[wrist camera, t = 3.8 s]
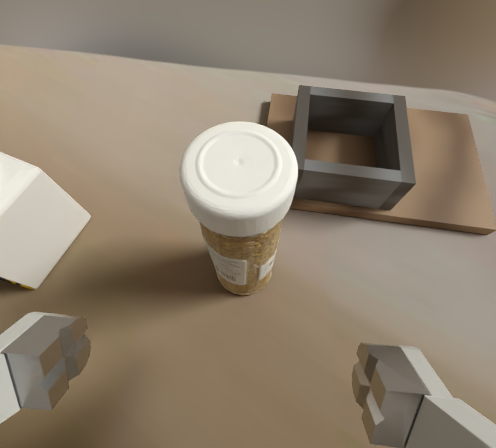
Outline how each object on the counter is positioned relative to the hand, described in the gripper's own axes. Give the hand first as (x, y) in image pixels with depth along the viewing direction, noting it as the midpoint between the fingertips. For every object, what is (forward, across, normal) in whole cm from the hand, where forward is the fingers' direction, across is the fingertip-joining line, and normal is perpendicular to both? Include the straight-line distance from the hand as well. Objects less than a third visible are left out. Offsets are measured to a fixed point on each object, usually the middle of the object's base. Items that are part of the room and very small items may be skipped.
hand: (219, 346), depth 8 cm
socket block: (+22, -11, -4) cm, 25 cm away
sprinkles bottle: (+14, 0, +5) cm, 14 cm away
